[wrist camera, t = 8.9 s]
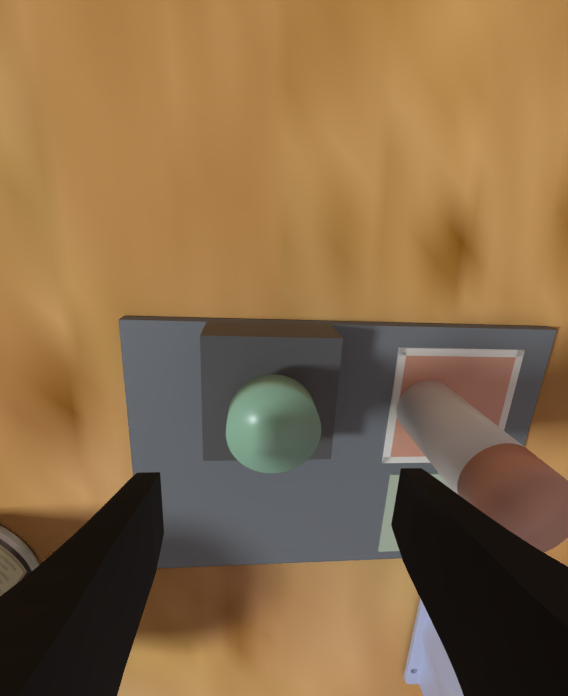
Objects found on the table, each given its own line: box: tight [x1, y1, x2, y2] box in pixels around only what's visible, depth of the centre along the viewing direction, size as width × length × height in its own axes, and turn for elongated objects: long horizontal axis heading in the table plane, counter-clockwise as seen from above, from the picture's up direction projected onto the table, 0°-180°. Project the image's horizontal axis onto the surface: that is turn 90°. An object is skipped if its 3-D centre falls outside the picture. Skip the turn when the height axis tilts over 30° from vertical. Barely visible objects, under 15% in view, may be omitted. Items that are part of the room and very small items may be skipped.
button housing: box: [200, 322, 343, 461], centre depth 17 cm, size 6×6×2 cm
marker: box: [396, 380, 568, 552], centre depth 16 cm, size 3×3×8 cm
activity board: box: [119, 316, 557, 568], centre depth 21 cm, size 15×22×1 cm
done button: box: [226, 374, 321, 473], centre depth 14 cm, size 4×4×1 cm
